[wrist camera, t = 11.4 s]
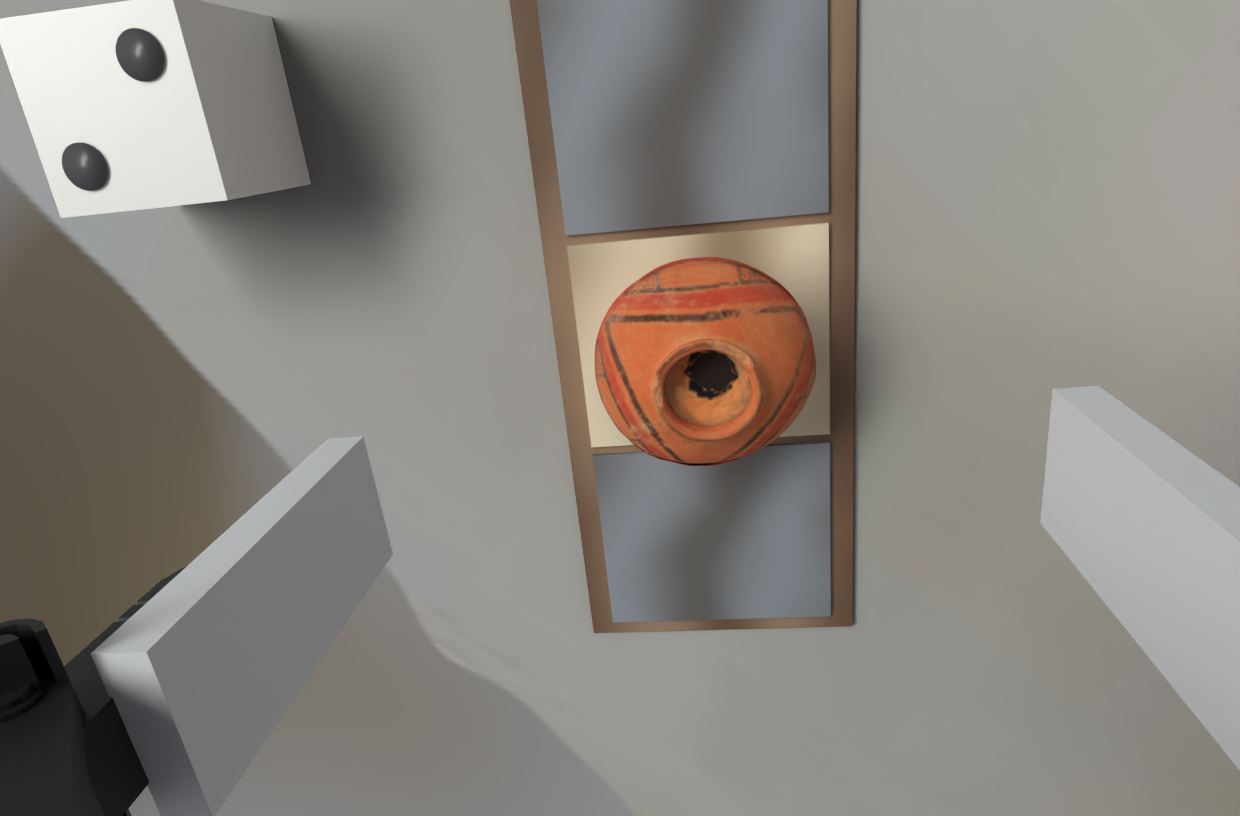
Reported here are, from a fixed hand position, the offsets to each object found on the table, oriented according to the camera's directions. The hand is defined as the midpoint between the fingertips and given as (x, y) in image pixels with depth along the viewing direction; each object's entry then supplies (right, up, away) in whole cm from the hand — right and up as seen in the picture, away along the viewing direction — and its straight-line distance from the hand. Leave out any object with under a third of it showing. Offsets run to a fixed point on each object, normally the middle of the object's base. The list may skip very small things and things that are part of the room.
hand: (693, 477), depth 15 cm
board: (+1, +8, +15) cm, 17 cm away
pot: (+2, +4, +16) cm, 17 cm away
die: (-17, +13, +15) cm, 26 cm away
